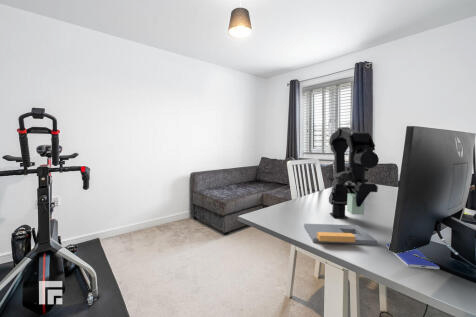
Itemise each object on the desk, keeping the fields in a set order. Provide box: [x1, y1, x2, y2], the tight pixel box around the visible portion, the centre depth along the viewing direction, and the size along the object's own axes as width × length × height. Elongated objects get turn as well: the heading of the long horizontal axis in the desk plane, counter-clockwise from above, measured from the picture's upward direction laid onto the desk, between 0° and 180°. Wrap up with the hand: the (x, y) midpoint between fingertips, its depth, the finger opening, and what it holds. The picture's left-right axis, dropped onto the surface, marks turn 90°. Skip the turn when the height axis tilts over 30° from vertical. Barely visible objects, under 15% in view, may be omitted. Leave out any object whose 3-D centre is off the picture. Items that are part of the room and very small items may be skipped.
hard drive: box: [385, 243, 440, 270], centre depth 68 cm, size 2×8×12 cm
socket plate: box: [303, 223, 378, 246], centre depth 84 cm, size 14×22×2 cm, turn 86°
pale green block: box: [346, 193, 366, 215], centre depth 84 cm, size 4×4×7 cm
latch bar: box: [317, 232, 355, 242], centre depth 76 cm, size 3×12×2 cm, turn 86°
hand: (355, 204), depth 84 cm, fingers closed on pale green block, 4 cm apart
